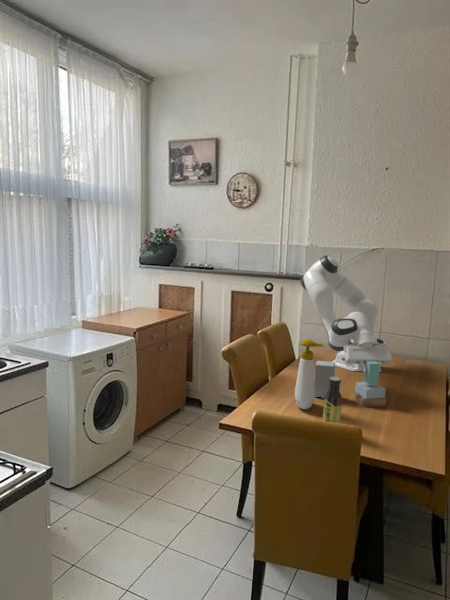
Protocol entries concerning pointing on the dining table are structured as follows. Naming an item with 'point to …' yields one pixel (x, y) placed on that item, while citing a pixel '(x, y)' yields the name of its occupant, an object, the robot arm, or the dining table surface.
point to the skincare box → (323, 377)
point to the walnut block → (369, 400)
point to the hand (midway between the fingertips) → (372, 371)
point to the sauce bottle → (332, 401)
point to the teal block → (372, 372)
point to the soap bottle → (306, 376)
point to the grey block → (370, 390)
